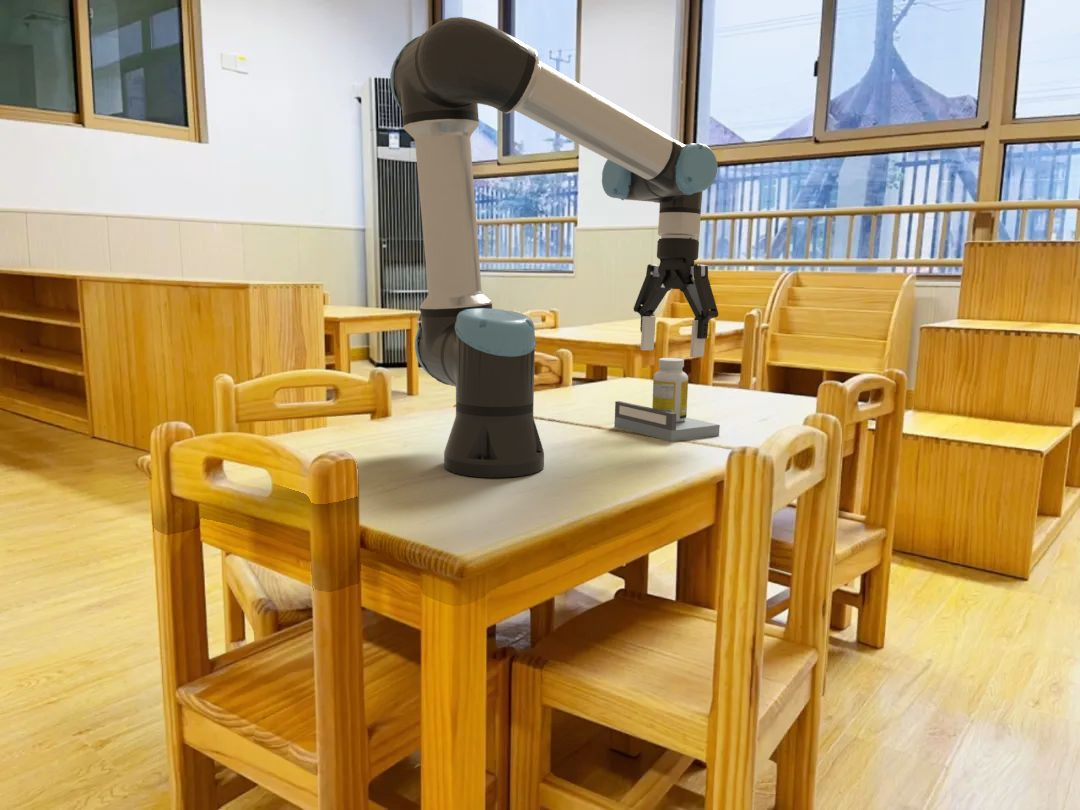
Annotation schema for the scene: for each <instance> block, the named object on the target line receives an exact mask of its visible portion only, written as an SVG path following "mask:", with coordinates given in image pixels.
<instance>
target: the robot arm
mask: <svg viewBox="0 0 1080 810" xmlns="http://www.w3.org/2000/svg"><path fill="white" fill-rule="evenodd" d="M389 77H390V79H389V80H390V82H389V83H390V90H391V95H392V97H393V98H394V101H395V102H396V103H395V104H397V105H396V106H397V107H399V109H401V111H402V112H401V113H402V122H403V123H402V124H403V129H404V131H406V133H407V134H408V135H409V136H411V137H412V138H413V141H414V145H415V157H416V169H417V178H418V189H419V200H420V213H421V225H422V226H421V227H422V233H423V234H422V235H423V246H424V247H423V248H424V258H425V271H426V272H425V273H426V280H427V282H426V283H427V293H428V295H427V297H426V298H425V299H424V300H423V302H422V303H421V304H420V306H419V308H420V323H421V325H420V327H419V328H418V330H417V332H416V335H415V340H414V351H415V356H416V358H417V361H418V363H419V365H420V367H421V368H422V369H423V370H424V372H426V374H427V375H428V376H430V377H432V378H434V379H435V380H436V381H438V382H439V383H442V384H444V385H447V386H452V387H455V418H454V421H453V424H452V427H451V430H450V433H449V435H448V439H447V442H446V446H445V448H444V451H443V467H444V469H446V470H448V471H449V472H451V473H455V474H458V475H461V476H462V475H463V476H468V477H469V476H470V477H477V478H478V477H479V478H513V477H521V476H527V475H528V476H529V475H532V474H536V473H538V472H541V471H542V470H543V469H544V468H545V451H544V448H543V444H542V441H541V438H540V435H539V431H538V429H537V428H538V427H537V425H536V421H535V416H534V405H535V404H534V402H535V400H534V397H535V396H534V394H535V358H536V357H535V356H536V354H535V353H536V351H535V350H536V344H537V341H536V332H535V324H534V322H533V320H532V318H531V317H530V316H528V315H526V314H524V313H522V312H521V313H520V312H518V311H512V310H505V309H501V308H500V309H499V308H493V301H492V299H490V298H489V297H488V296H487V295H486V294H485V293H484V292H483V290H482V280H481V279H482V278H481V268H480V267H481V265H480V263H481V262H480V253H479V252H480V251H479V235H478V226H477V225H478V224H477V212H476V198H475V186H474V185H475V184H474V183H475V181H474V170H473V159H472V158H473V157H472V145H471V143H472V142H471V136H472V134H473V133H475V131H476V129H478V127H479V126H480V123H479V122H480V118H479V105H484V106H489V107H492V108H494V109H496V110H498V111H500V112H502V113H503V114H510V113H513V112H517V113H519V114H521V115H524V116H525V117H527V118H529V119H531V120H533V121H534V122H536V123H538V124H540V125H542V126H544V127H546V128H547V129H550V130H552V131H553V132H556V134H559V135H562V137H565V138H567V139H568V140H571V141H572V142H575V144H578V145H579V146H581V147H583V148H586V149H588V150H590V151H592V152H593V153H595V154H598V155H599V156H601V157H603V158H605V159H607V160H606V161H605V163H604V165H603V168H602V173H601V175H602V176H601V185H602V189H603V191H604V193H605V194H606V195H607V196H608V197H610V198H612V199H619V200H621V201H626V200H627V201H640V202H651V203H658V204H659V209H658V210H659V211H658V212H659V213H658V215H659V216H658V227H657V235H658V236H660V238H658V240H657V247H656V248H657V249H656V258H657V259H658V260H659V262H660V263H659V264H653V263H651V264H650V263H649V264H648V265H647V267H646V273H645V274H646V275H645V277H644V281H643V283H642V286H641V288H640V290H639V293H638V295H637V299H636V301H635V303H634V306H633V312H635V313H638V314H639V315H640V327H639V328H640V329H639V330H640V333H641V337H640V339H641V340H640V351H654V350H655V335H656V333H655V332H656V319H657V317H656V314H655V312H656V310H657V309H658V307H659V305H660V303H661V302H662V301H663V299H664V298H665V296H666V294H668V292H669V291H671V290H679V291H680V292H682V294H683V296H684V297H685V299H686V301H687V303H688V305H689V307H690V310H691V311H692V313H693V314H694V318H693V320H692V323H691V338H690V339H691V340H690V352H689V353H690V354H689V357H691V358H703V357H705V349H706V348H705V347H706V346H705V345H706V339H707V338H708V335H709V322H710V320H711V319H714V318H717V317H719V310H718V307H717V304H716V300H715V297H714V292H713V290H712V286H711V283H710V282H711V281H710V279H709V266H708V265H707V264H695V261H697V260H698V258H699V247H700V245H699V244H700V241H699V240H698V239H696V238H697V237H699V236H700V232H701V231H700V228H701V212H702V203H703V201H702V200H703V192H704V191H706V190H708V189H710V187H711V186H712V185H713V184H714V182H715V179H716V177H717V175H718V174H717V173H718V168H719V167H718V161H717V157H716V154H715V152H714V151H713V150H712V149H711V148H710V147H709V146H708V145H706V144H704V143H693V142H691V143H687V144H684V143H682V142H681V141H679V140H677V139H675V138H673V137H672V136H671V135H668V134H666V133H665V132H663V131H661V130H659V129H658V128H655V127H654V126H652V124H649V123H647V122H646V121H644V120H642V119H640V118H639V117H636V116H635V115H634V114H632V113H630V112H628V111H627V110H626V109H623V108H622V107H620V106H618V105H617V104H614V103H613V102H611V101H610V100H607V99H606V98H604V97H603V96H600V95H599V94H597V93H595V92H593V91H592V90H590V89H589V88H587V87H585V86H583V85H582V84H580V83H578V82H577V81H576V80H573V79H572V78H570V77H569V76H566V75H564V74H563V73H561V72H560V71H558V70H556V69H554V68H553V67H551V66H549V65H547V64H546V63H544V62H542V61H541V60H540V59H539V54H538V52H537V50H536V49H535V48H533V47H532V46H530V45H528V44H527V43H525V42H523V41H521V40H519V39H518V38H516V37H514V36H512V35H510V34H509V33H507V32H505V31H503V30H501V29H499V28H496V27H494V26H492V25H489V24H487V23H485V22H482V21H480V20H476V19H474V18H469V17H463V16H460V17H459V16H455V17H454V16H453V17H448V18H445V19H442V20H439V21H438V22H436V23H434V24H433V25H432V26H430V27H429V28H428V30H426V31H425V32H423V33H422V34H421V35H419V36H417V37H414V38H412V39H411V40H410V41H408V42H407V43H406V44H405V45H404V46H403V47H402V49H401V50H400V51H399V53H398V54H397V56H396V58H395V60H394V61H393V64H392V66H391V70H390V76H389ZM478 104H479V105H478Z"/></svg>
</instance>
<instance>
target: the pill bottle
mask: <svg viewBox="0 0 1080 810" xmlns="http://www.w3.org/2000/svg"><path fill="white" fill-rule="evenodd" d="M658 367H659V370H658V371H657V372H655V373H654V375H653V380H652V383H653V384H652V407H651V408H654V409H658V410H663V411H667V412H672V413H677V414H676V422H681V421H684V420H685V419H686V417H687V412H688V395H689V392H688V391H689V376H688V374H687V373H686V372H685V371H683V368H685V359H683V358H680V357H679V358H678V357H677V358H676V357H661V358H658Z"/></svg>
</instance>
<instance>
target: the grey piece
mask: <svg viewBox="0 0 1080 810" xmlns="http://www.w3.org/2000/svg"><path fill="white" fill-rule="evenodd" d="M676 414H677V413H672V412H667V411H663V410H658V409H654V408H652V407H648V406H644V405H639V404H635V403H631V402H626V401H620V400H616V401H615V403H614V428H617V429H621V430H625V431H629V432H633V433H636V434H641V435H645V436H647V437H652V438H656V439H660V440H664V441H668V442H679V441H686V440H694V439H702V438H710V437H717V436H720V429H721V428H720V426H721V425H720V424H717V423H714V422H708V421H704V420H699V419H695V418H691V417H687V416H686V419H685V420H684V421H681V422H676Z"/></svg>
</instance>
